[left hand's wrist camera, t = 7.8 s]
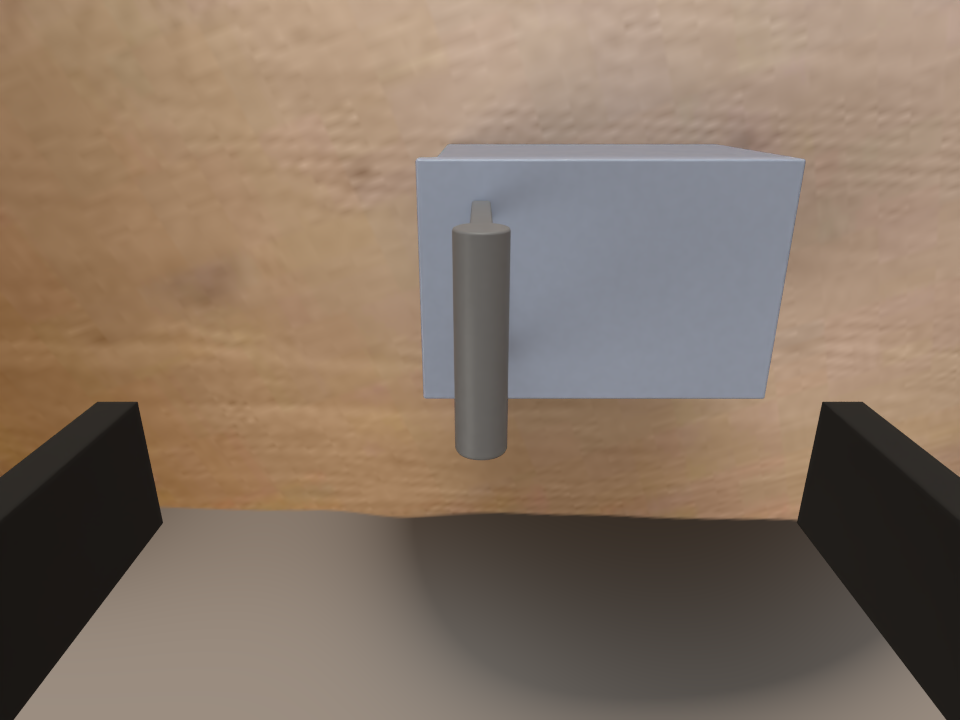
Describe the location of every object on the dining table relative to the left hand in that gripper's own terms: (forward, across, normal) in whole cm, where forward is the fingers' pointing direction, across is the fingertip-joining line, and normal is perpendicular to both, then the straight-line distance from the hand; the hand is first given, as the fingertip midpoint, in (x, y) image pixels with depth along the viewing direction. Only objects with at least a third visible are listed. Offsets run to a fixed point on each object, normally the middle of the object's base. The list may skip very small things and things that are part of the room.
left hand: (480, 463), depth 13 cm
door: (+14, +5, 0) cm, 15 cm away
